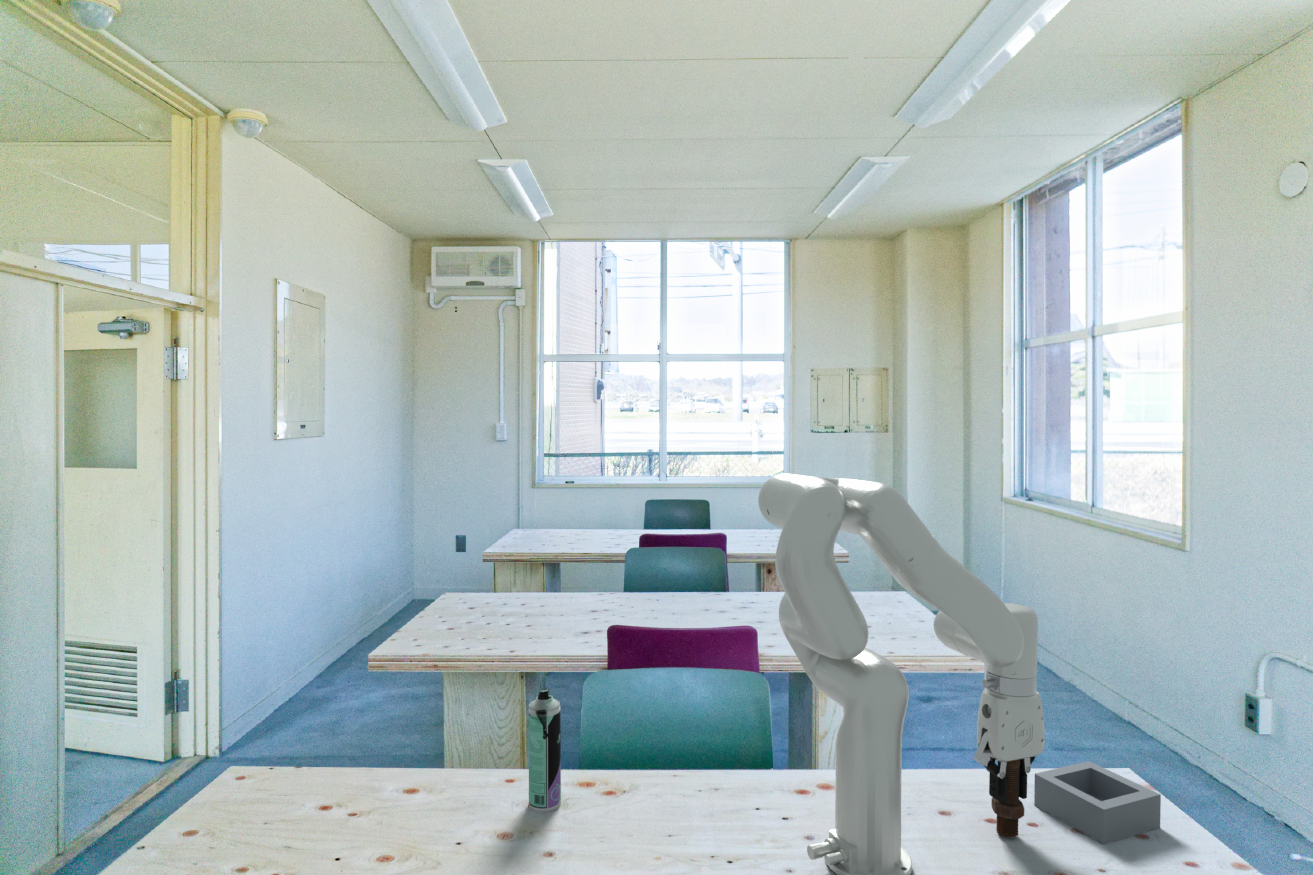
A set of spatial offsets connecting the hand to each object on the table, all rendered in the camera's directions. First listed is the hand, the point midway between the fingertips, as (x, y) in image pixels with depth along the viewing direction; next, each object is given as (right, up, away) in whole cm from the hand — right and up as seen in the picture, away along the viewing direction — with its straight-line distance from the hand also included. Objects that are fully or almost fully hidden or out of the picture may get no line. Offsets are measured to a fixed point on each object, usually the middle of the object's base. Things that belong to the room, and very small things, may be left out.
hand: (1007, 796), depth 121 cm
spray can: (-76, -6, +10) cm, 76 cm away
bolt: (0, -6, 0) cm, 6 cm away
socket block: (+17, -6, +6) cm, 20 cm away
